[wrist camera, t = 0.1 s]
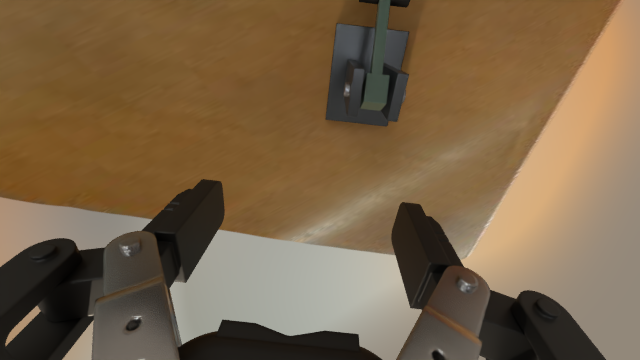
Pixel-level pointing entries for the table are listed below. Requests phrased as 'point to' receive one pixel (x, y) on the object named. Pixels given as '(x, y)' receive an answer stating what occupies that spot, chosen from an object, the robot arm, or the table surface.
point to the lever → (378, 58)
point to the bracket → (364, 75)
